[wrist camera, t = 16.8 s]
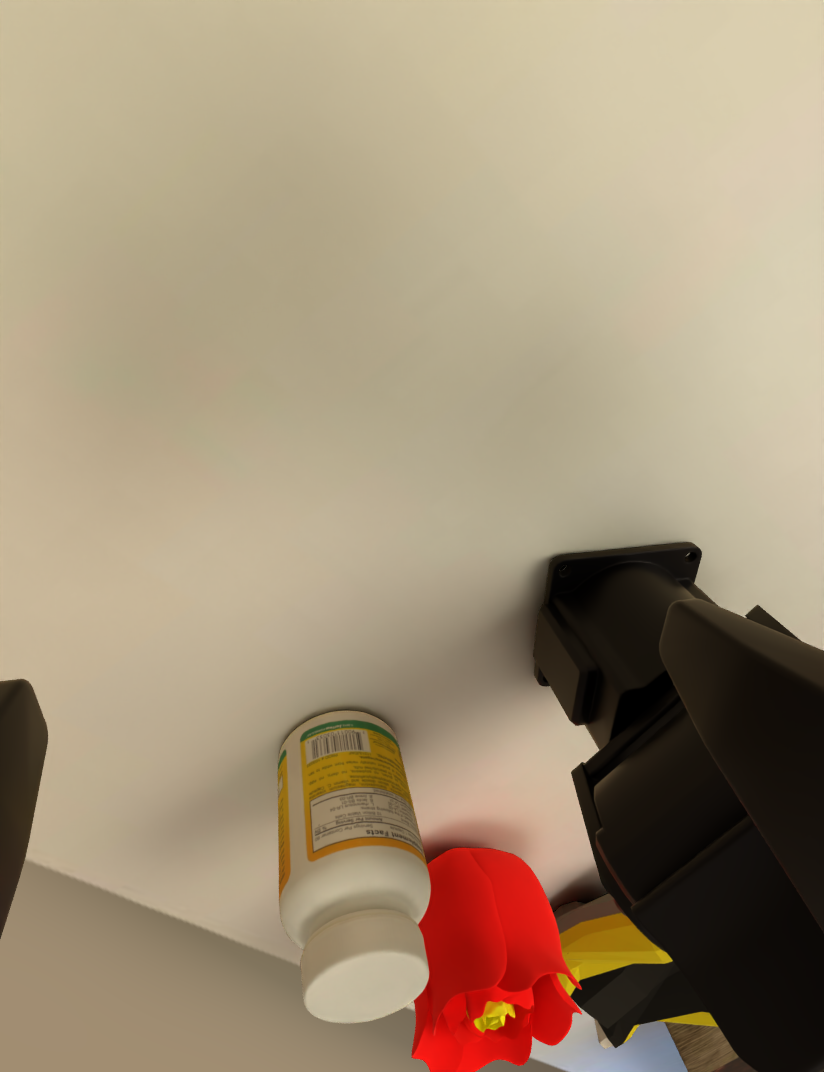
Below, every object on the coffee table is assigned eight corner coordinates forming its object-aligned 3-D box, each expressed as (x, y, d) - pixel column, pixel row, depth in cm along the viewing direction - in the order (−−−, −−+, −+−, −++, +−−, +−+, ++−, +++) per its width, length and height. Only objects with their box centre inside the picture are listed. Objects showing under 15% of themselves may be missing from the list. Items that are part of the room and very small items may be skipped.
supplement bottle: (335, 686, 26) (369, 919, 18) (421, 740, 28) (485, 965, 20) (249, 764, 27) (243, 1016, 19) (340, 808, 30) (369, 1048, 21)
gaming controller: (646, 830, 36) (498, 915, 37) (704, 928, 31) (532, 1022, 32) (719, 927, 43) (595, 995, 44) (775, 1018, 39) (634, 1091, 40)
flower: (440, 803, 31) (491, 979, 24) (554, 834, 34) (627, 997, 27) (359, 899, 33) (383, 1083, 27) (473, 920, 37) (520, 1089, 30)
